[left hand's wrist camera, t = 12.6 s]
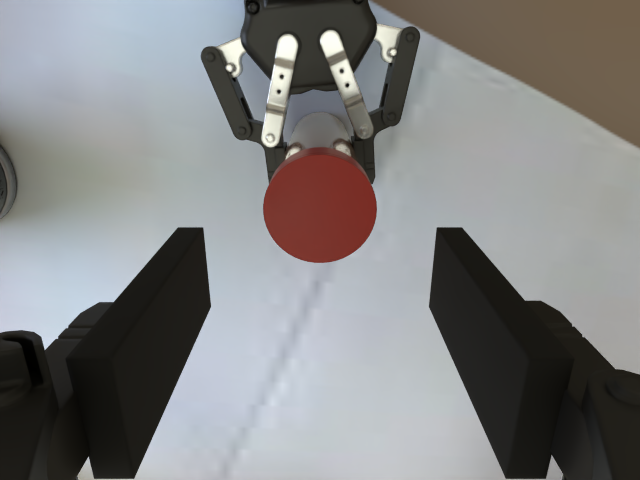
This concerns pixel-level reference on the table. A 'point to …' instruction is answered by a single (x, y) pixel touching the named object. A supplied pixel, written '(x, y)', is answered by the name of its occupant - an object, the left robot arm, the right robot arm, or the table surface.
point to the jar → (319, 135)
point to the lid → (320, 205)
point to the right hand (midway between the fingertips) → (322, 192)
